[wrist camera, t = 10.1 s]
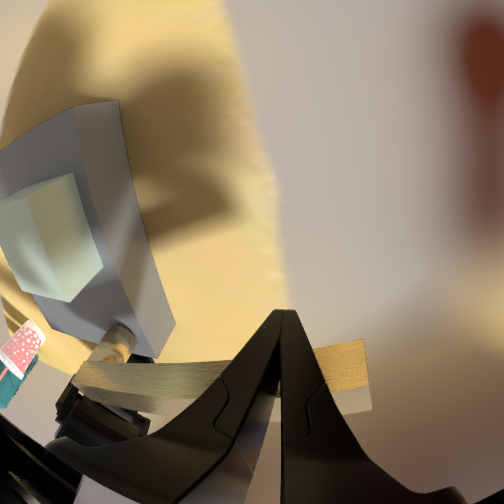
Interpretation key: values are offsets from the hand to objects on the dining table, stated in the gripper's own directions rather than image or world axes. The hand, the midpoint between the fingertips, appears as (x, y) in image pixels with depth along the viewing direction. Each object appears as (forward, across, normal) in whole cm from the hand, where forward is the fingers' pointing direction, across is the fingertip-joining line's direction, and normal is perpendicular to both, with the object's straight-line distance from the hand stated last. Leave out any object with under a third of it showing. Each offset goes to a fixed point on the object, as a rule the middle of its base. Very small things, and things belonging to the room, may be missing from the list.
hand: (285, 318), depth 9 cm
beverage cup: (+8, +41, +17) cm, 45 cm away
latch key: (+3, +5, +4) cm, 7 cm away
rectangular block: (+4, +14, -2) cm, 15 cm away
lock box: (+8, +17, 0) cm, 19 cm away
